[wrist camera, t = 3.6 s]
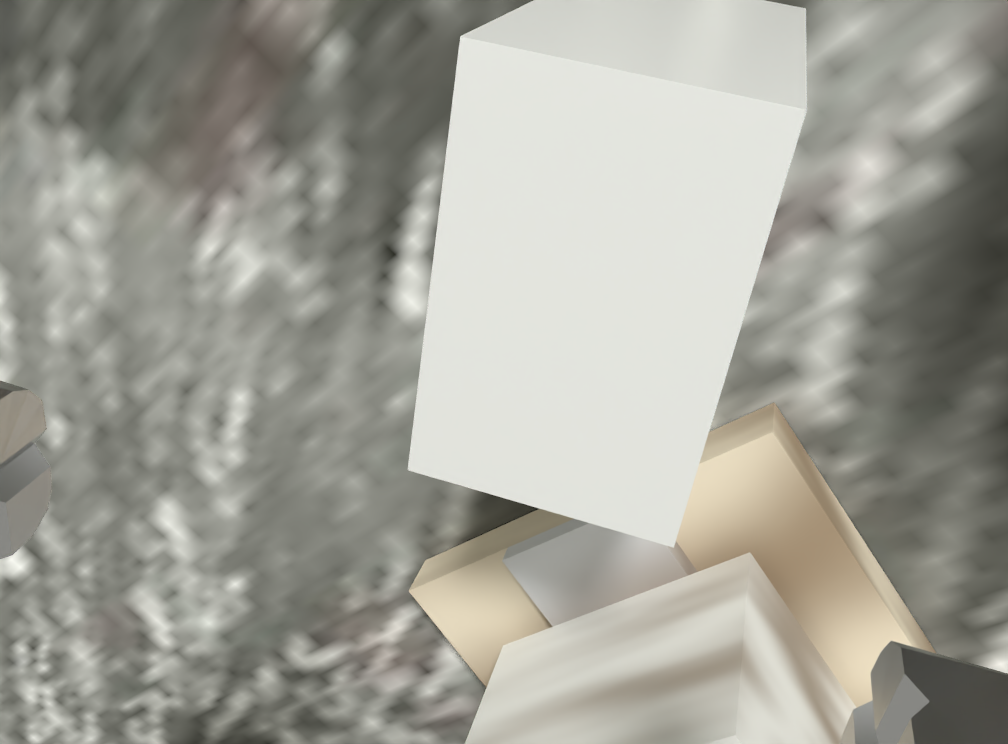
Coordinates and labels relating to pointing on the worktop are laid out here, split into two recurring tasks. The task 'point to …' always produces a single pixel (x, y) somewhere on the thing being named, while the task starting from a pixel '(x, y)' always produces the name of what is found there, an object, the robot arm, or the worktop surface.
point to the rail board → (715, 531)
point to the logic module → (602, 247)
